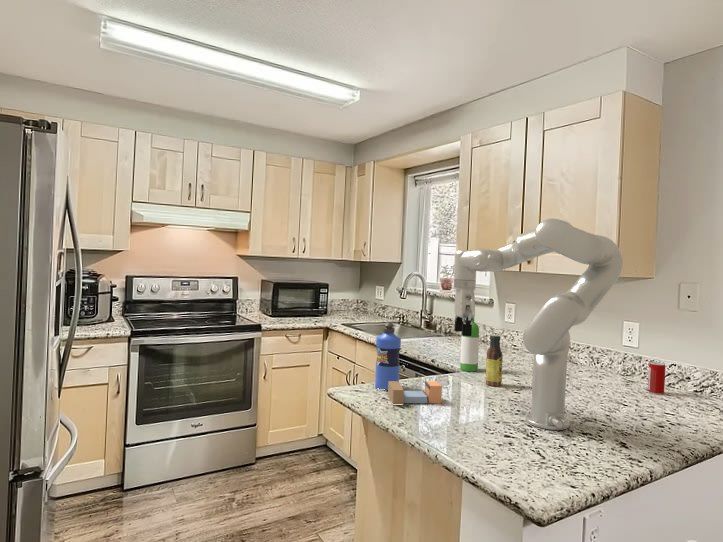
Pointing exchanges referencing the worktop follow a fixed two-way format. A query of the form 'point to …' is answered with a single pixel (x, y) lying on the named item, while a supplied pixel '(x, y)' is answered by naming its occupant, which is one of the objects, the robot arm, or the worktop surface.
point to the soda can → (656, 378)
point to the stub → (433, 391)
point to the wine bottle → (470, 350)
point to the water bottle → (387, 357)
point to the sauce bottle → (494, 362)
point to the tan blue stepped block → (405, 394)
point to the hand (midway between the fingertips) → (462, 333)
